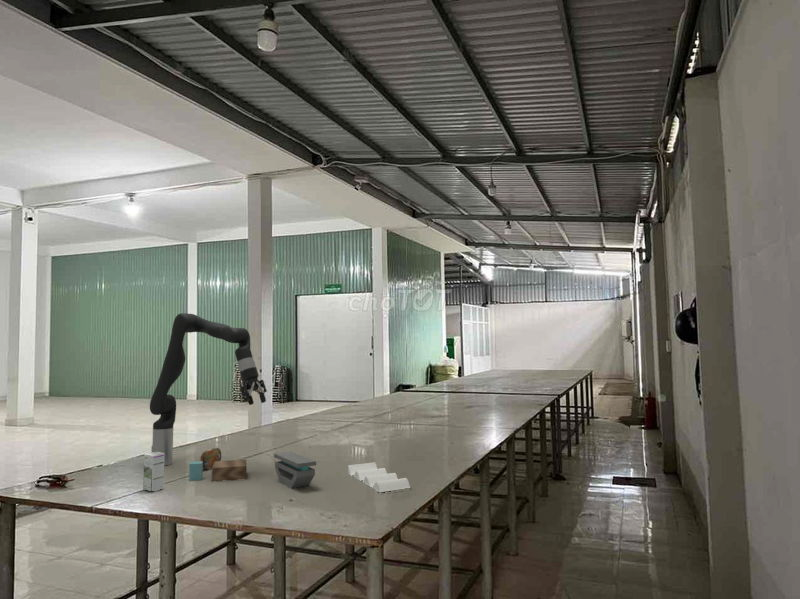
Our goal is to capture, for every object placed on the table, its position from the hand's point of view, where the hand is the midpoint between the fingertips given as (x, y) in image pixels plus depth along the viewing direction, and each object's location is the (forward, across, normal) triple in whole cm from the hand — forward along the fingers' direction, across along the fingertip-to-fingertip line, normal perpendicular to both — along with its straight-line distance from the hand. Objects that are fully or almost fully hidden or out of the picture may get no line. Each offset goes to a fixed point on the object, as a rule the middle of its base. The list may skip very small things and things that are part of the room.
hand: (257, 403), depth 250 cm
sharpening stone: (+38, +6, +11) cm, 41 cm away
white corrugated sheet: (+50, -9, +40) cm, 65 cm away
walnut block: (+26, +7, -20) cm, 34 cm away
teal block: (+22, +16, -30) cm, 41 cm away
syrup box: (+22, +36, -32) cm, 53 cm away
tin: (+19, -4, -40) cm, 44 cm away
